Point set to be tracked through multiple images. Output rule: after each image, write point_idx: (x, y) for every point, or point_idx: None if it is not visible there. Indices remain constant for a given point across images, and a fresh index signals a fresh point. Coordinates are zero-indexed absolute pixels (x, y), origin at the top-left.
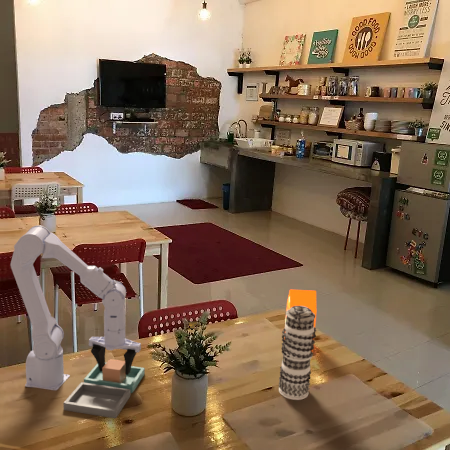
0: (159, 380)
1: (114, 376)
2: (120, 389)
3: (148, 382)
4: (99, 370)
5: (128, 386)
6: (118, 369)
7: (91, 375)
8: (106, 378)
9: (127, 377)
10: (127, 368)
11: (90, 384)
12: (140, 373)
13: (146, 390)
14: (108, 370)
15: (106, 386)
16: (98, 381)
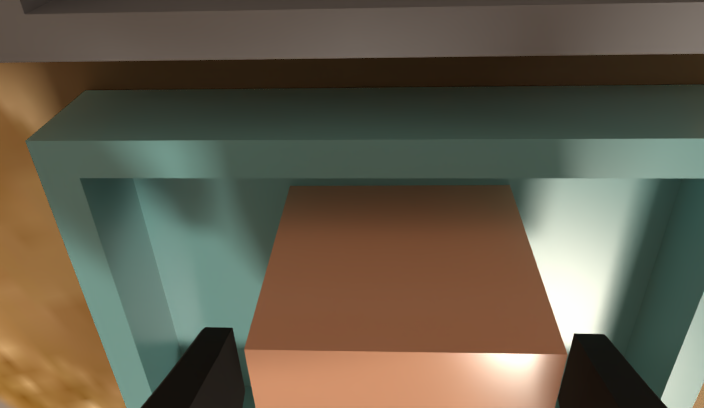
0: (13, 356)
1: (347, 263)
2: (128, 20)
3: (79, 315)
4: None
5: (87, 136)
6: (274, 361)
7: (698, 261)
8: (467, 233)
9: None
10: (156, 403)
11: (672, 24)
12: (122, 385)
13: (4, 200)
14: (447, 325)
15: (383, 43)
16: (558, 139)
